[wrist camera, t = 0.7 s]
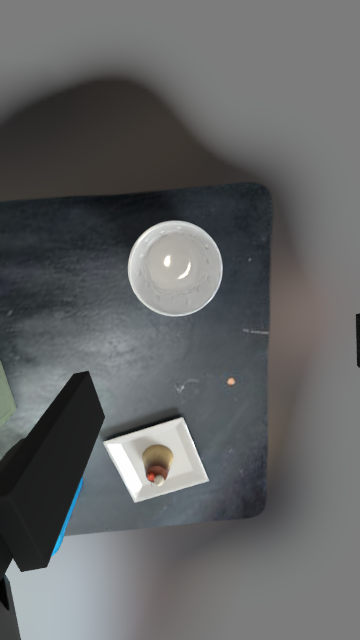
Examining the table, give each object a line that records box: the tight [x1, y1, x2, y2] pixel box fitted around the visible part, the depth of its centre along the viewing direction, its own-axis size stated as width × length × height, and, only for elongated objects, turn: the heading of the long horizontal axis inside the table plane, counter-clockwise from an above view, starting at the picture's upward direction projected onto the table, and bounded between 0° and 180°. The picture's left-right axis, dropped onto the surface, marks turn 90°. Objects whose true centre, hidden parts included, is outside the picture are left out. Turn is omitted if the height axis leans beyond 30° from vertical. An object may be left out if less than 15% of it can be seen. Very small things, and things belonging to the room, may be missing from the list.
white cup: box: [128, 221, 222, 316], centre depth 27 cm, size 8×8×10 cm
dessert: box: [103, 417, 209, 502], centre depth 37 cm, size 12×12×5 cm
